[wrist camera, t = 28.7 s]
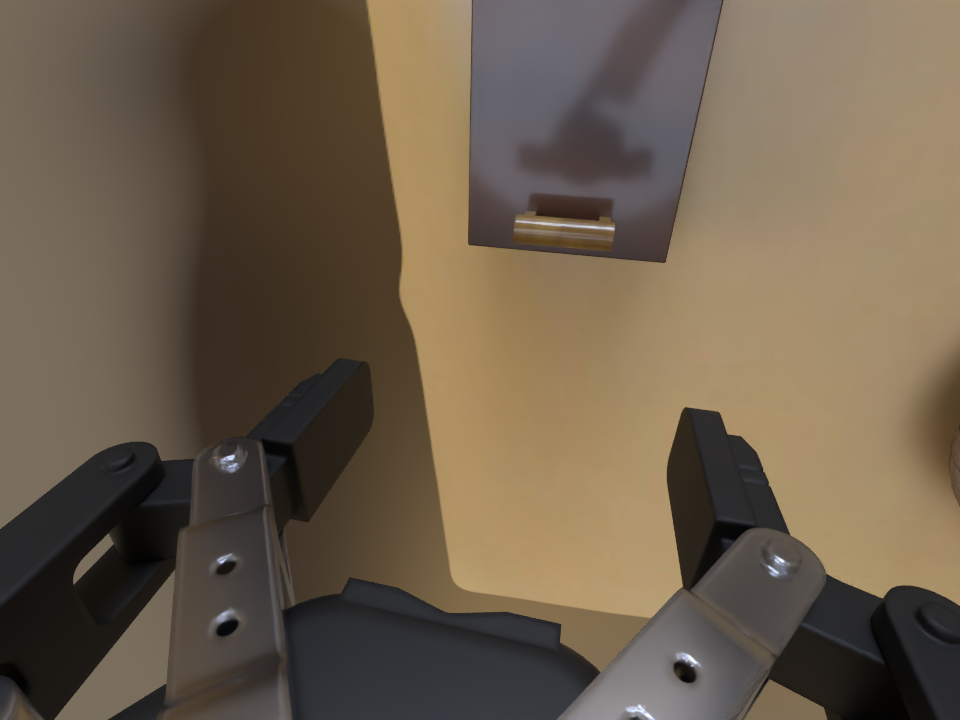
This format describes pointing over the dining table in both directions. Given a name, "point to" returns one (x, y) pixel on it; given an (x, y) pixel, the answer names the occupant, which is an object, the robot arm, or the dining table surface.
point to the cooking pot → (955, 464)
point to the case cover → (584, 122)
